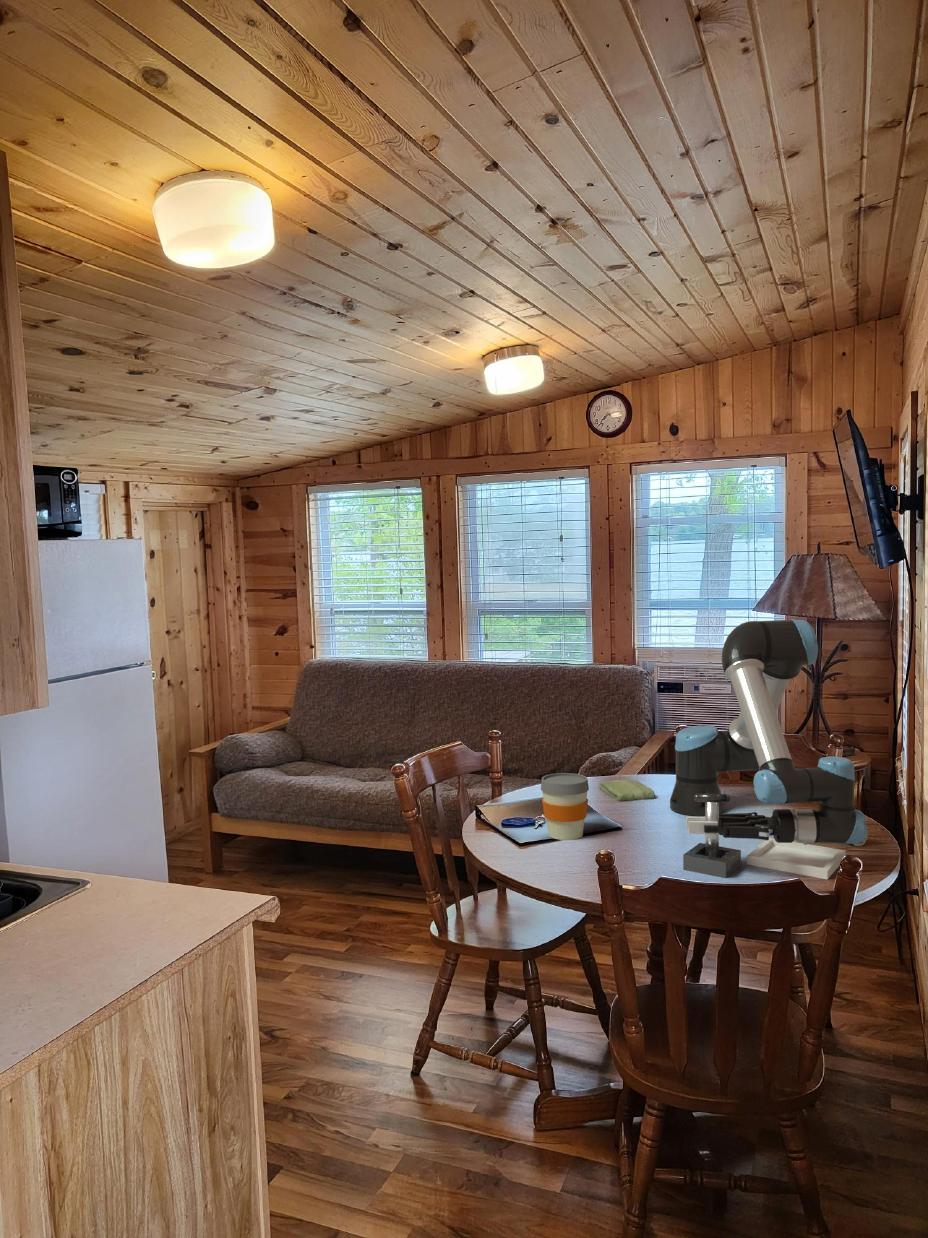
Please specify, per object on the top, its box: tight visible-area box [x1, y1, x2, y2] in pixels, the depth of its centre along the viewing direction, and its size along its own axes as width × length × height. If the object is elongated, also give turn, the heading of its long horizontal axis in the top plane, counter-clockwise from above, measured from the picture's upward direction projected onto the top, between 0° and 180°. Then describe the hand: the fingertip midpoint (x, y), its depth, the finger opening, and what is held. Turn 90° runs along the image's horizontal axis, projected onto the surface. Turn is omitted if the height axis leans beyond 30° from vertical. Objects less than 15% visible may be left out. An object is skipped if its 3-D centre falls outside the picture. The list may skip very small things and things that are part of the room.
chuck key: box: [694, 793, 731, 858], centre depth 202 cm, size 8×3×16 cm, turn 83°
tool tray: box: [746, 837, 847, 880], centre depth 205 cm, size 18×16×2 cm
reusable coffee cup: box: [540, 772, 589, 841], centre depth 230 cm, size 13×13×15 cm
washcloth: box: [599, 779, 656, 802], centre depth 269 cm, size 13×18×3 cm
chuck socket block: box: [682, 842, 742, 879], centre depth 203 cm, size 10×10×4 cm
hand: (687, 825), depth 203 cm, fingers closed on chuck key, 3 cm apart
